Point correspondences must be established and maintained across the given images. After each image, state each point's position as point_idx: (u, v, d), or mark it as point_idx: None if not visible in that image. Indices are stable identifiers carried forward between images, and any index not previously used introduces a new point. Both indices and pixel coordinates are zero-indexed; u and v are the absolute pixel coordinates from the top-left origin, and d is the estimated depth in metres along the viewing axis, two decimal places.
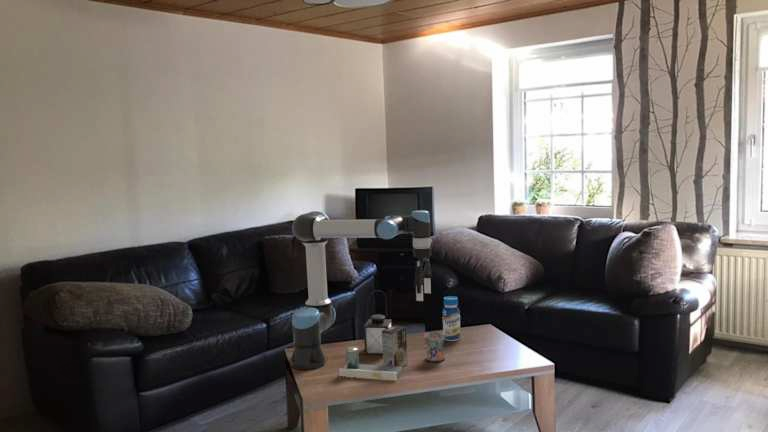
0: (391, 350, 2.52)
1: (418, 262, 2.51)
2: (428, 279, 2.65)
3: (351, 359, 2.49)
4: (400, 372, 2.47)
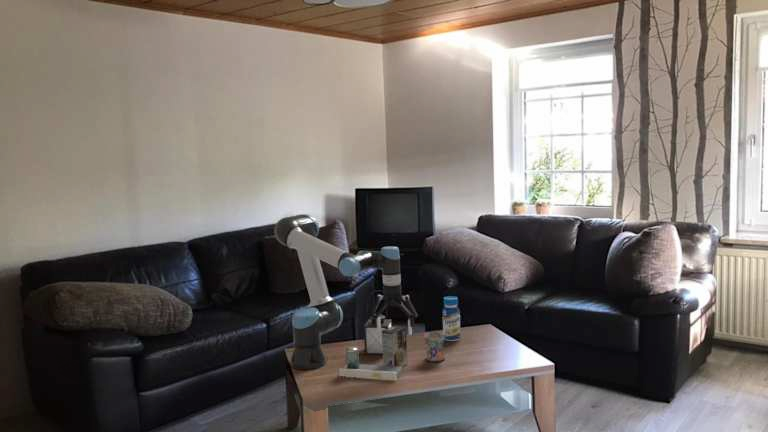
0: (391, 350, 2.52)
1: None
2: None
3: (351, 359, 2.49)
4: (400, 372, 2.47)
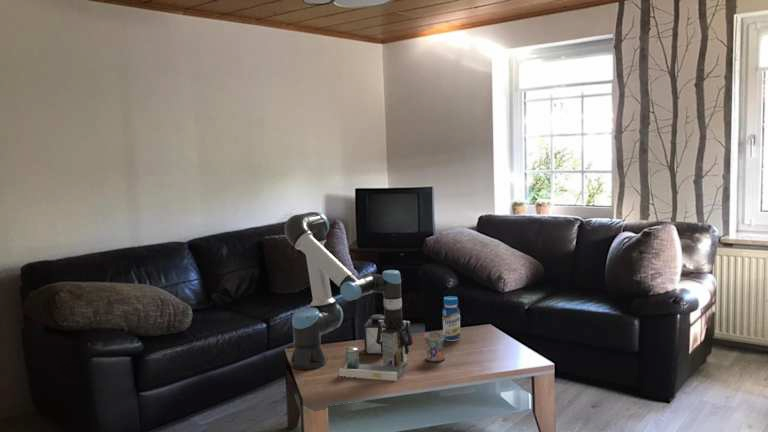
0: (391, 350, 2.52)
1: None
2: None
3: (351, 359, 2.49)
4: (400, 372, 2.47)
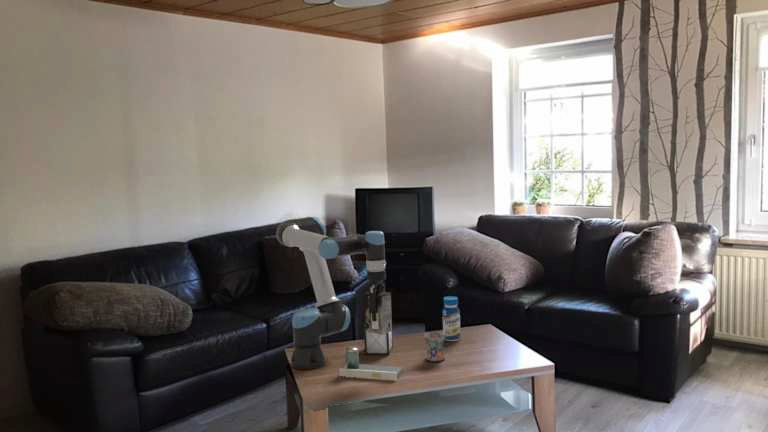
0: (390, 311, 2.44)
1: (371, 289, 2.38)
2: None
3: (351, 359, 2.49)
4: (400, 372, 2.47)
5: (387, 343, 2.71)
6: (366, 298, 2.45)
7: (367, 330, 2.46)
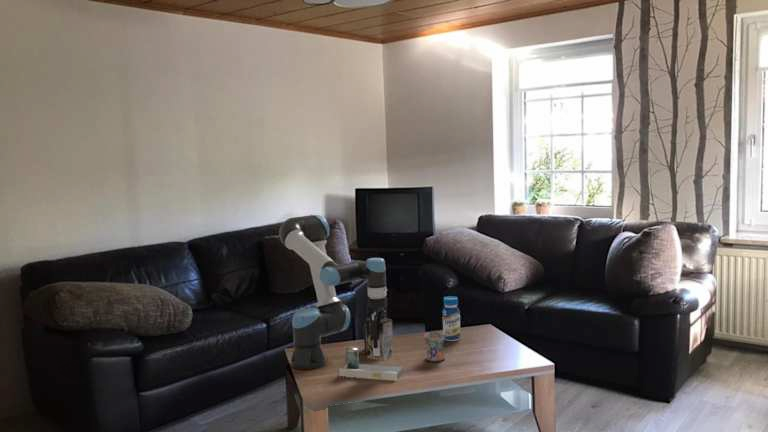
0: (391, 337, 2.46)
1: (372, 316, 2.39)
2: None
3: (352, 359, 2.49)
4: (400, 372, 2.47)
5: None
6: (368, 324, 2.46)
7: (368, 356, 2.47)
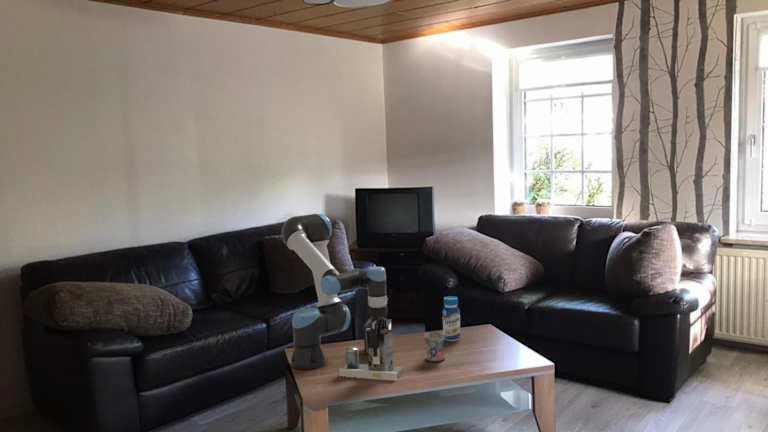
0: (392, 348, 2.47)
1: (373, 324, 2.40)
2: None
3: (351, 359, 2.49)
4: (400, 372, 2.47)
5: None
6: (368, 336, 2.47)
7: (369, 367, 2.49)
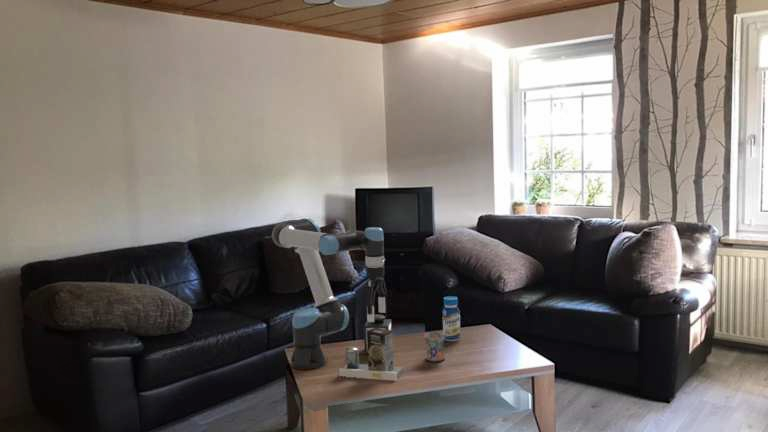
0: (392, 348, 2.47)
1: (369, 282, 2.42)
2: (382, 298, 2.55)
3: (352, 359, 2.49)
4: (400, 372, 2.47)
5: None
6: (369, 336, 2.47)
7: (369, 368, 2.49)
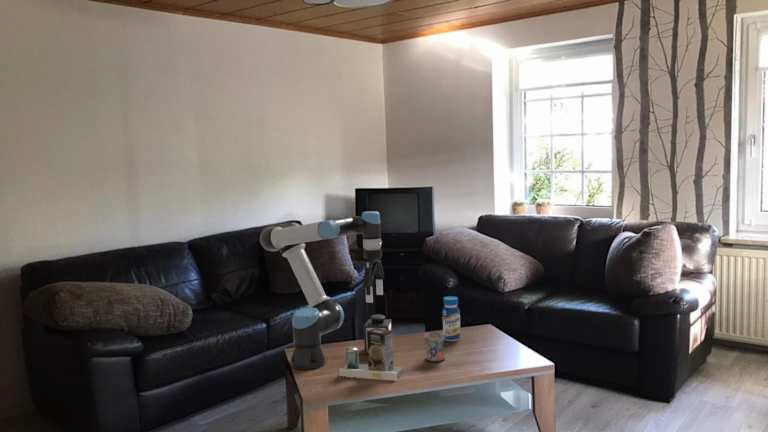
0: (392, 348, 2.47)
1: (367, 263, 2.49)
2: (380, 280, 2.63)
3: (352, 359, 2.49)
4: (400, 372, 2.47)
5: None
6: (369, 336, 2.47)
7: (369, 368, 2.49)
